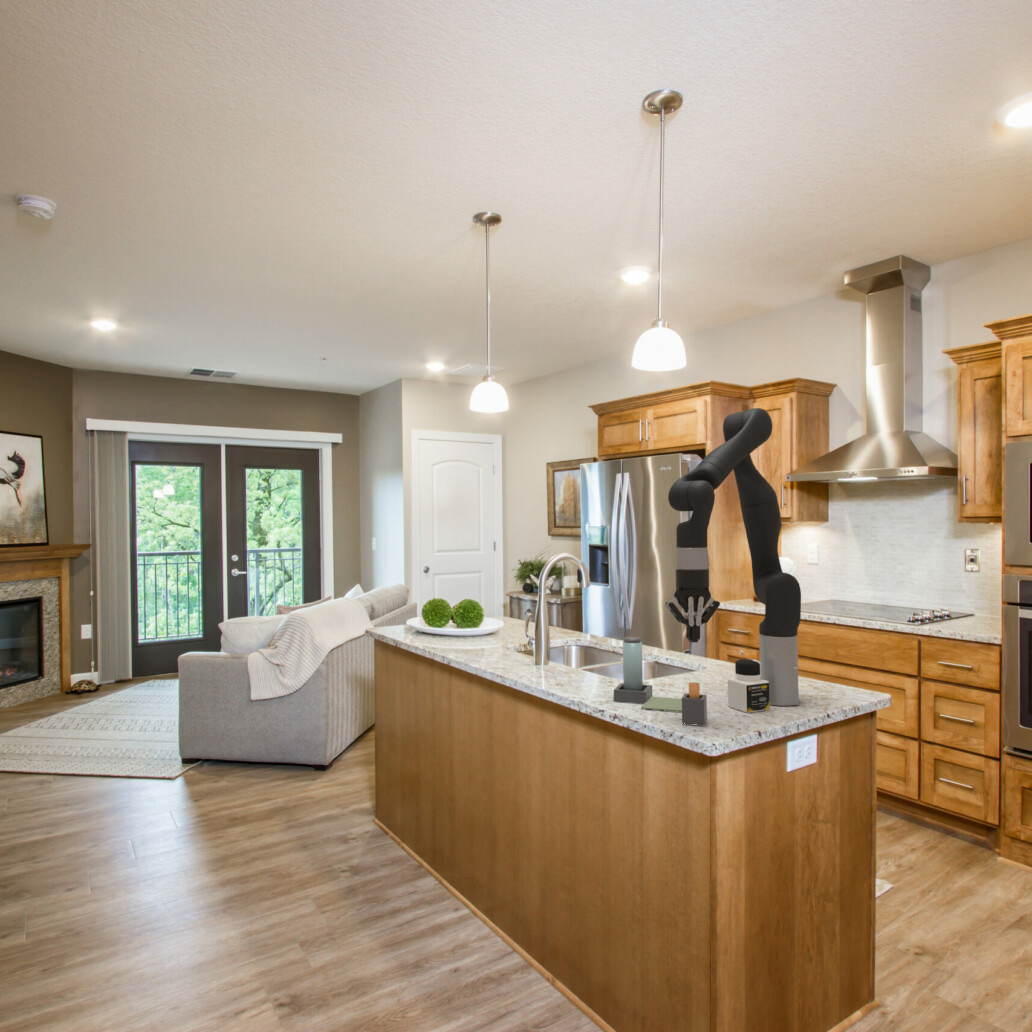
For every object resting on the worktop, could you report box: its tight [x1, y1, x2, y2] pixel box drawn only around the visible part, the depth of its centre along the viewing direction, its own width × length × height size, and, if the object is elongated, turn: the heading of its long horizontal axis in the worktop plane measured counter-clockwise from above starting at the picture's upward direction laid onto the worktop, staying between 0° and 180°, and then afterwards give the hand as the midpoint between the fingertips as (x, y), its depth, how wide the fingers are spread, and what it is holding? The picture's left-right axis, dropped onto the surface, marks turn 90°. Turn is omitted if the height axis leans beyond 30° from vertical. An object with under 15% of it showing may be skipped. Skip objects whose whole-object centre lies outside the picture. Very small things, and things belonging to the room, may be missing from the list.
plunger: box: [688, 681, 701, 699], centre depth 169 cm, size 2×2×6 cm
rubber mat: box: [640, 696, 682, 713], centre depth 185 cm, size 12×12×1 cm
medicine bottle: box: [727, 658, 771, 714], centre depth 181 cm, size 7×7×12 cm
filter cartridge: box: [622, 636, 644, 691], centre depth 192 cm, size 5×5×16 cm
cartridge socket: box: [613, 682, 653, 704], centre depth 192 cm, size 8×8×3 cm
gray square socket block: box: [681, 693, 708, 726], centre depth 169 cm, size 5×5×6 cm
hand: (693, 641), depth 169 cm, fingers closed
